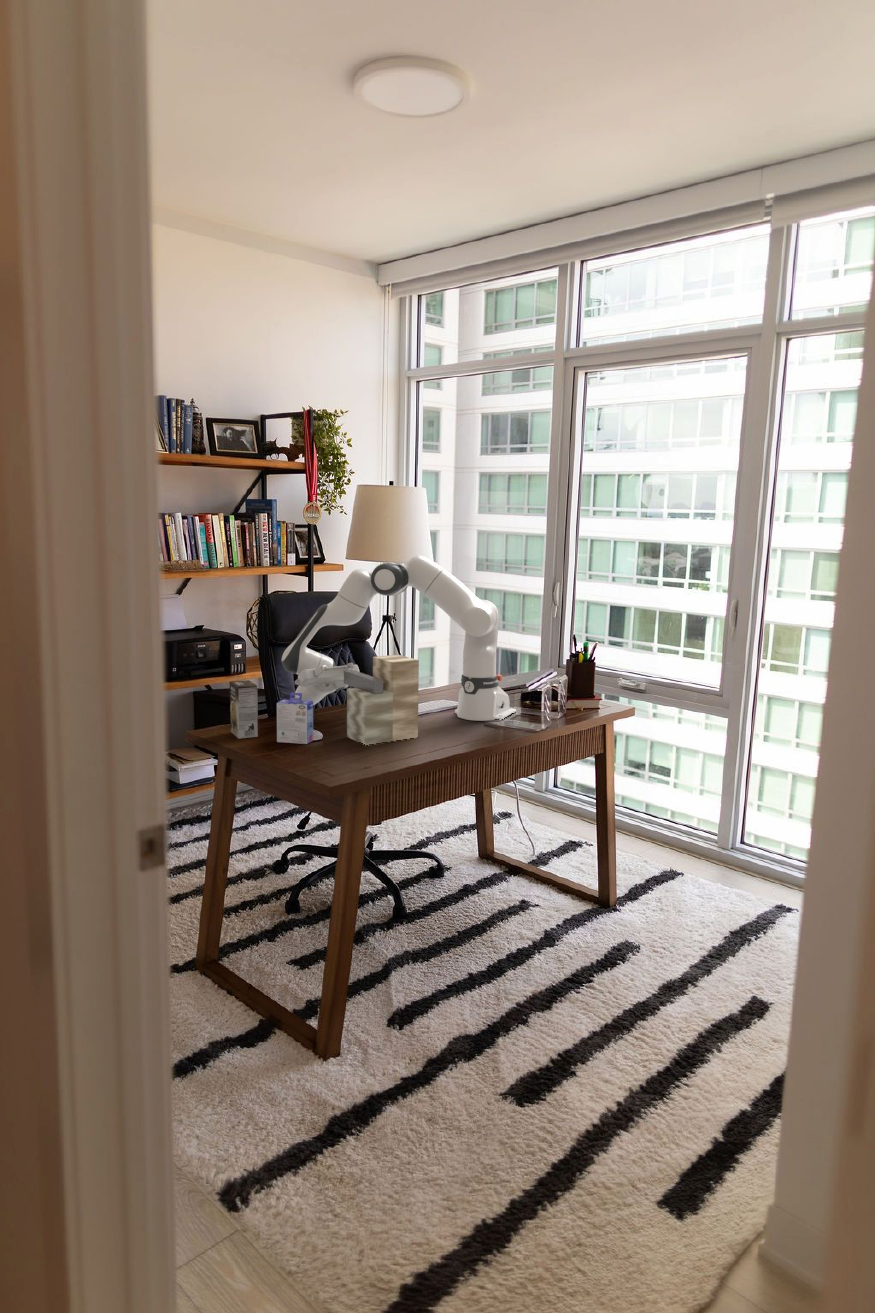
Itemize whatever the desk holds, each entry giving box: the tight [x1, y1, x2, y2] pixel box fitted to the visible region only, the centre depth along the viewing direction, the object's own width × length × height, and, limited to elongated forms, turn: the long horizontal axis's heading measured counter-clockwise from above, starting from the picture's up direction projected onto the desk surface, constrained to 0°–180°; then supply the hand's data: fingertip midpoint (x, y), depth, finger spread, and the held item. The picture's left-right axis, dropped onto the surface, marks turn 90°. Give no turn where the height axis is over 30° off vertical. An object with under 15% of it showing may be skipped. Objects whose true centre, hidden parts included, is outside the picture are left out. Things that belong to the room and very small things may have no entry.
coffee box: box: [228, 679, 259, 739], centre depth 272 cm, size 9×6×16 cm
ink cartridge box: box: [276, 692, 314, 745], centre depth 265 cm, size 10×6×14 cm, turn 78°
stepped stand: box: [346, 654, 420, 746], centre depth 270 cm, size 12×18×24 cm, turn 124°
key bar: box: [344, 670, 383, 694], centre depth 270 cm, size 19×3×4 cm, turn 34°
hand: (338, 666), depth 283 cm, fingers open, 8 cm apart
